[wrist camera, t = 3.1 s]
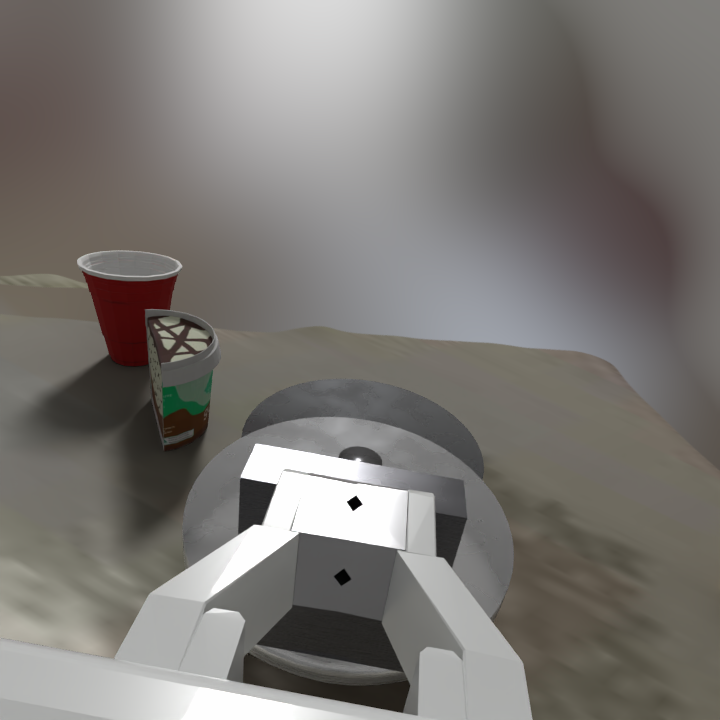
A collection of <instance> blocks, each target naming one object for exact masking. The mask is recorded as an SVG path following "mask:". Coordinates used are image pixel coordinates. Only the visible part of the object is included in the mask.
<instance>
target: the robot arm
mask: <svg viewBox="0 0 720 720" xmlns="http://www.w3.org/2000/svg"><path fill="white" fill-rule="evenodd" d="M292 605H298V606H305V607H311V608H318V609H324V610H331V611H337V610H338V611H337V612H342V613H347V614H352V615H356V616H361V617H366V618H371V619H376V620H380V621H382V625H383V627H384V629H385V631H386V634H387V636H388V638H389V640H390V642H391V644H392V647H393V649H394V651H395V653H396V655H397V657H398V660H399V662H400V664H401V666H402V668H403V670H404V672H405V675H406V677H407V679H408V681H409V683H410V685H411V686H410V689H409V693H408V696H407V700H406V703H405V707H404V710H403V713H400V712H395V711H389V710H384V709H379V708H373V707H368V706H363V705H357V704H352V703H347V702H341V701H336V700H331V699H325V698H320V697H315V696H309V695H304V694H299V693H293V692H288V691H283V690H277V689H272V688H267V687H262V686H256V685H251V684H246V683H243V665H244V656H245V655H246V654H247V653H248V652H249V651H250V650H251V649H252V648H253V647H254V646H255V645H256V644H257V643H258V642H259V641H260V640H261V639H262V638H263V637H264V636H265V635H266V634H267V633H268V632H269V631H270V629H271V628H272V627H273V626H274V625H275V624H276V623H277V622H278V621H279V620H280V619H281V618H282V617H283V616H284V615H285V614H286V613H287V612H288V611H289V610H290V609H291V608H292ZM0 720H532V714H531V708H530V702H529V696H528V690H527V684H526V678H525V672H524V666H523V662H522V661H521V659H520V658H519V657H518V655H517V654H516V653H515V651H514V650H513V649H512V647H511V646H510V645H509V643H508V642H507V641H506V639H505V638H504V637H503V635H502V634H501V633H500V631H499V630H498V629H497V628H496V626H495V625H494V624H493V622H492V621H491V620H490V618H489V617H488V616H487V614H486V613H485V612H484V610H483V609H482V608H481V606H480V605H479V604H478V602H477V601H476V600H475V598H474V597H473V596H472V594H471V593H470V592H469V590H468V589H467V588H466V586H465V585H464V584H463V583H462V581H461V580H460V579H459V577H458V576H457V575H456V573H455V572H454V571H453V569H452V568H451V567H450V565H449V564H448V563H447V561H446V560H445V559H444V558H441V557H436V519H435V496H434V494H433V493H429V492H422V491H415V490H405V489H399V488H392V487H386V486H380V485H374V484H368V483H362V482H357V481H352V480H347V479H341V478H336V477H331V476H326V475H321V474H316V473H311V472H310V473H308V472H303V471H298V470H293V469H287V468H285V469H284V470H283V471H282V472H281V475H280V477H279V480H278V483H277V485H276V488H275V491H274V493H273V496H272V499H271V501H270V504H269V507H268V509H267V512H266V515H265V517H264V520H263V523H262V525H261V526H258V525H253V526H251V527H250V528H248V529H247V530H245V531H244V532H242V533H241V534H239V535H238V536H236V537H235V538H233V539H232V540H230V541H228V542H227V543H225V544H224V545H222V546H221V547H219V548H218V549H216V550H215V551H213V552H212V553H210V554H209V555H207V556H206V557H204V558H203V559H201V560H200V561H198V562H197V563H195V564H194V565H192V566H191V567H189V568H188V569H186V570H185V571H183V572H182V573H180V574H179V575H177V576H175V577H174V578H172V579H171V580H169V581H168V582H166V583H165V584H163V585H162V586H160V587H159V588H157V589H156V590H154V591H153V592H151V593H150V594H149V596H148V598H147V599H146V601H145V603H144V605H143V607H142V608H141V610H140V612H139V614H138V616H137V618H136V619H135V621H134V623H133V625H132V627H131V628H130V630H129V632H128V634H127V636H126V638H125V639H124V641H123V643H122V645H121V647H120V648H119V650H118V652H117V654H116V656H115V658H114V659H112V658H107V657H102V656H96V655H91V654H86V653H80V652H75V651H70V650H64V649H59V648H54V647H48V646H43V645H38V644H32V643H27V642H22V641H16V640H11V639H5V638H0Z"/></svg>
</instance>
